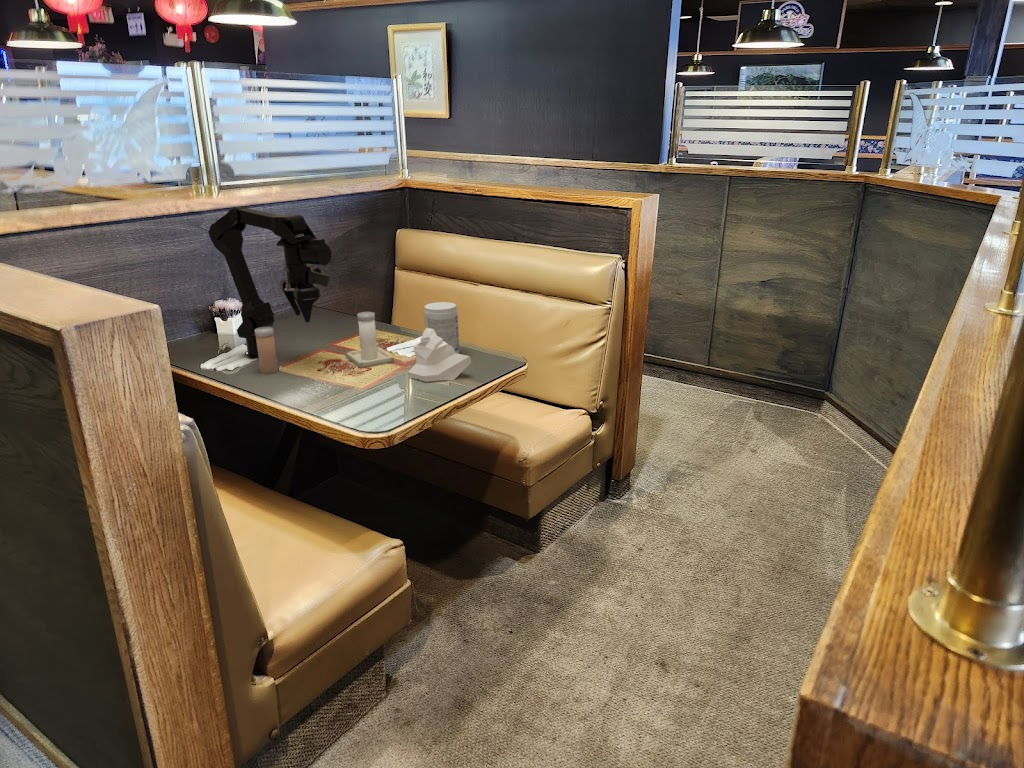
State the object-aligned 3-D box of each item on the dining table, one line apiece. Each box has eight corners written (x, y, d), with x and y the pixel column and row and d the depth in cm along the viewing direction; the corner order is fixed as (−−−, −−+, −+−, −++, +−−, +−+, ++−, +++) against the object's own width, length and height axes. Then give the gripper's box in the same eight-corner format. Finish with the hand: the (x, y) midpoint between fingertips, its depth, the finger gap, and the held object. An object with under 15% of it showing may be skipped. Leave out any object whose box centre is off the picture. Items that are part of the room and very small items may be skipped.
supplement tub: (465, 355, 210) (463, 306, 205) (436, 361, 205) (433, 311, 200) (449, 347, 218) (447, 300, 213) (421, 353, 213) (418, 304, 208)
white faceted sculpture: (439, 393, 186) (422, 344, 180) (405, 383, 196) (388, 337, 190) (473, 370, 193) (458, 322, 186) (439, 362, 203) (423, 317, 197)
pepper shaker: (258, 370, 200) (252, 328, 196) (275, 367, 202) (270, 325, 198) (262, 374, 196) (256, 332, 192) (280, 371, 198) (275, 329, 194)
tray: (346, 357, 210) (345, 352, 209) (378, 351, 215) (378, 346, 214) (360, 368, 200) (360, 363, 200) (394, 362, 205) (393, 357, 205)
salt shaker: (357, 358, 207) (353, 314, 202) (369, 354, 211) (366, 310, 206) (369, 361, 204) (365, 316, 200) (381, 356, 208) (378, 313, 203)
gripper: (336, 264, 192) (341, 321, 197) (314, 255, 207) (320, 308, 212) (294, 269, 187) (301, 327, 192) (275, 259, 202) (282, 313, 207)
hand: (302, 318), depth 201 cm, fingers open, 9 cm apart
